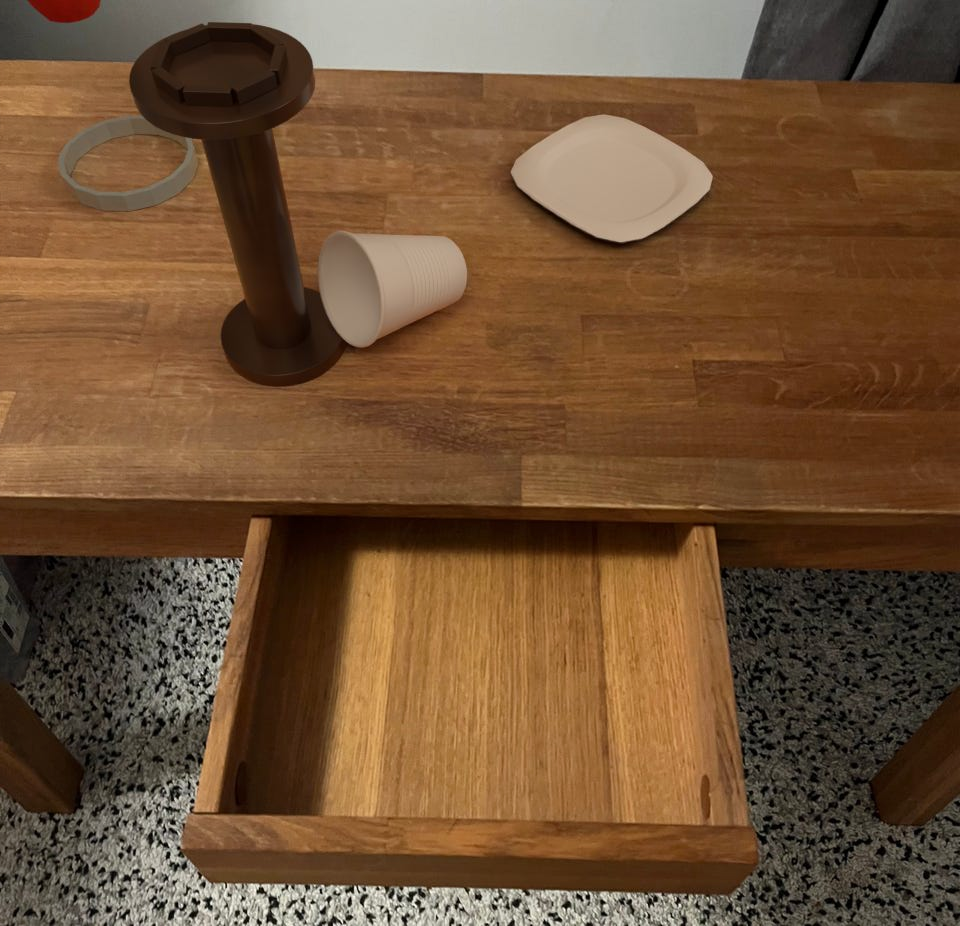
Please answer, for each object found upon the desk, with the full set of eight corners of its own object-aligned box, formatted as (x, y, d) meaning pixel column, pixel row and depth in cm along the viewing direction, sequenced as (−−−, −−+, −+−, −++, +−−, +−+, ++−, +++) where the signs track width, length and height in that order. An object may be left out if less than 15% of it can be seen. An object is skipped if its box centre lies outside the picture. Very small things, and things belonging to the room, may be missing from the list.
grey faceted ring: (108, 229, 87) (101, 213, 86) (41, 167, 93) (34, 151, 91) (222, 171, 93) (218, 155, 91) (153, 116, 98) (147, 100, 97)
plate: (489, 183, 93) (490, 169, 91) (600, 115, 100) (602, 101, 99) (620, 268, 85) (623, 255, 84) (729, 187, 93) (733, 174, 92)
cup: (454, 343, 83) (357, 370, 77) (403, 263, 85) (305, 282, 79) (499, 276, 75) (396, 300, 69) (442, 190, 78) (337, 205, 71)
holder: (271, 413, 74) (191, 133, 52) (192, 338, 79) (88, 52, 57) (379, 342, 79) (348, 59, 57) (298, 275, 84) (241, -10, 62)
